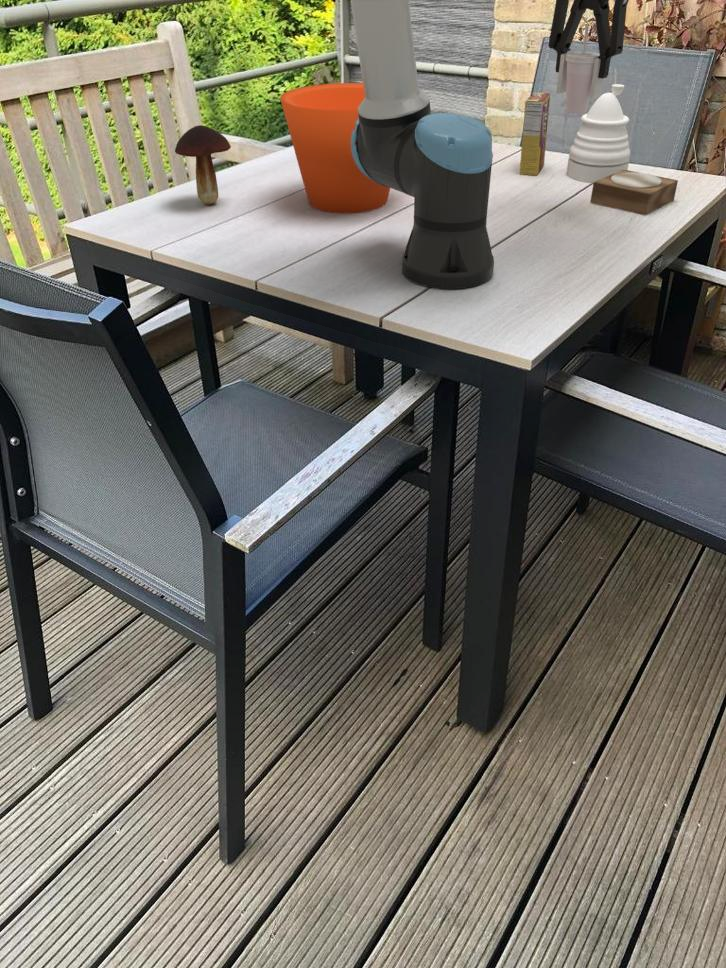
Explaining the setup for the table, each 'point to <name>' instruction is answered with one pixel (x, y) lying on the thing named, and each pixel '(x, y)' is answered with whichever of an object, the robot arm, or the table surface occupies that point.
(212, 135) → the decorative mushroom
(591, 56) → the smoothie
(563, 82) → the robot arm
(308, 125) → the flowerpot
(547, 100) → the candy box
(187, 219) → the table surface
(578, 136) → the honey pot
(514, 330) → the table surface
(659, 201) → the pedestal
